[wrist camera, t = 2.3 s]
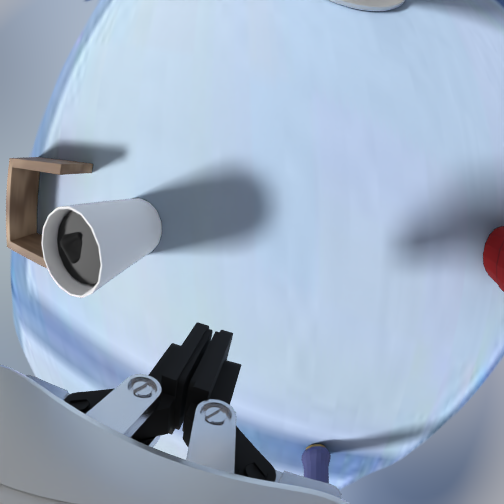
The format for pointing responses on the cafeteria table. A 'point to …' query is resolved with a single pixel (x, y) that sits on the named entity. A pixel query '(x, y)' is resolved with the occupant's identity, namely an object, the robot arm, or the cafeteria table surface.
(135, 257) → the white paper cup
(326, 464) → the rubber mallet
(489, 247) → the plastic cup
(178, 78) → the cafeteria table surface
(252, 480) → the robot arm
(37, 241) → the box
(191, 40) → the cafeteria table surface
